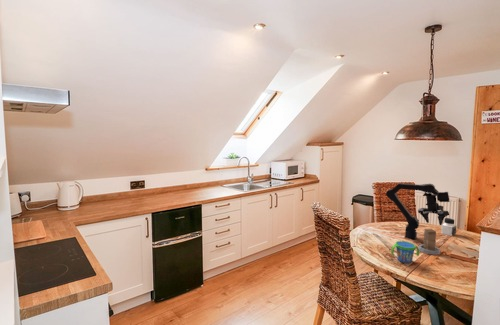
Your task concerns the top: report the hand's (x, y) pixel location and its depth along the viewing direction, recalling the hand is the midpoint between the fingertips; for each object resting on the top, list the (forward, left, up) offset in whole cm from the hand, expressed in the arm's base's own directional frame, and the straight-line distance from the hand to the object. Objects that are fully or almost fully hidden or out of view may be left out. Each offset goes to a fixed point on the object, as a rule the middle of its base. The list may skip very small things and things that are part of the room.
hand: (434, 224), depth 192 cm
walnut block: (+2, -19, -12) cm, 23 cm away
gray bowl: (+2, -19, -13) cm, 23 cm away
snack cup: (-5, -45, -13) cm, 47 cm away
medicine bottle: (+4, +26, -13) cm, 29 cm away
